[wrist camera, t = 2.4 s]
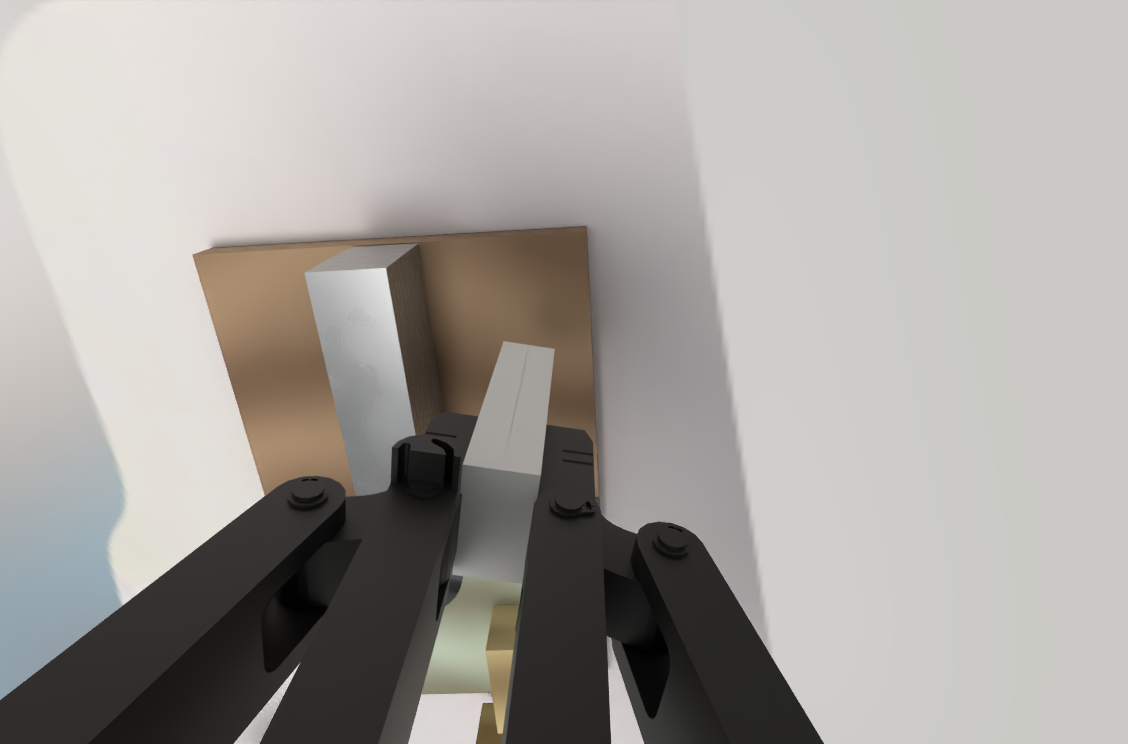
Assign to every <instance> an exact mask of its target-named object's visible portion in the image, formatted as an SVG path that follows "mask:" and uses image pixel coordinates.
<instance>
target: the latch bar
mask: <svg viewBox="0 0 1128 744" xmlns="http://www.w3.org/2000/svg"><path fill="white" fill-rule="evenodd" d="M304 274H305V278H306V282H307V287H308V291H309V295H310V300H311V304H312V308H313V313H314V317H315V321H316V325H317V330H318V334H319V338H320V343H321V347H322V351H323V356H324V360H325V364H326V369H327V373H328V377H329V382H330V386H331V390H332V395H333V399H334V403H335V407H336V412H337V416H338V420H339V425H340V429H341V433H342V438H343V442H344V446H345V451H346V455H347V459H348V464H349V468H350V472H351V476H352V481H353V485H354V489H355V494H356V496H363V495H371V494H377V493H380V492H384V491H387V489H388V487H389V485H390V483H391V456H392V447H393V446H394V445H395V444H396V443H397V442H398V441H399V440H402V439H404V438H406V437H409V436H415V435H421V434H422V435H424V434H425V433H426V430H427V428H428V426H429V424H430V422H431V420H432V419H434V418H435V417H437V416H438V415H440V414H441V413H443V412H444V408H443V401H442V395H441V388H440V382H439V375H438V369H437V362H436V356H435V349H434V343H433V336H432V330H431V323H430V317H429V310H428V304H427V298H426V291H425V285H424V278H423V272H422V265H421V259H420V252H419V246H418V243H416V244H398V245H381V246H364V247H349V248H348V249H346V250H344V251H342V252H340V253H339V254H337V255H335V256H333V257H331V258H330V259H328V260H326V261H324V262H322V263H321V264H319V265H317V266H315V267H313V268H312V269H310V270H308V271H306V272H304ZM452 572H453V566H452V569H451V573H450V580H449V591H448V597H447V600H446V604H445V606H447V605H448V604H449V603H450V602H452V600H453V599H454V598H455V597H456V595H457V594H458V592H459V590H460V588H461V584H462V580H463V576H458V575H452Z"/></svg>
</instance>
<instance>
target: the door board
mask: <svg viewBox="0 0 1128 744" xmlns="http://www.w3.org/2000/svg"><path fill="white" fill-rule="evenodd" d="M416 243H418V246H419V252H420V259H421V265H422V272H423V278H424V285H425V291H426V298H427V304H428V310H429V317H430V323H431V330H432V336H433V343H434V349H435V356H436V362H437V369H438V375H439V382H440V388H441V395H442V401H443V408H444V411H445V412H452V413H459V414H466V415H473V416H479V414H480V411H481V408H482V405H483V402H484V399H485V396H486V393H487V390H488V387H489V384H490V381H491V378H492V375H493V372H494V369H495V366H496V363H497V360H498V357H499V354H500V351H501V348H502V345H503V342H504V341H506V342H512V343H519V344H526V345H533V346H539V347H546V348H553V349H555V351H554V360H553V369H552V378H551V387H550V396H549V405H548V415H547V424H546V425H553V426H560V427H566V428H573V429H580V430H585V431H586V433H587V434H588V435H589V437H590V438H591V440H592V441H593V450H594V455H593V456H594V479H595V501H596V502H597V503H598V505H599V487H598V466H597V444H596V422H595V401H594V379H593V357H592V336H591V314H590V292H589V271H588V249H587V228H586V226H585V227H568V228H550V229H533V230H516V231H498V232H481V233H464V234H447V235H429V236H412V237H395V238H377V239H360V240H343V241H325V242H308V243H291V244H274V245H256V246H239V247H222V248H210V249H208V250H205V251H202V252H199V253H196V254H193V258H194V262H195V265H196V268H197V272H198V275H199V278H200V282H201V285H202V288H203V291H204V295H205V298H206V301H207V305H208V308H209V311H210V315H211V318H212V321H213V325H214V328H215V331H216V335H217V338H218V341H219V345H220V348H221V351H222V355H223V358H224V361H225V365H226V368H227V371H228V374H229V378H230V381H231V384H232V388H233V391H234V394H235V398H236V401H237V404H238V408H239V411H240V414H241V418H242V421H243V424H244V428H245V431H246V434H247V438H248V441H249V444H250V448H251V451H252V454H253V457H254V461H255V464H256V467H257V471H258V474H259V477H260V481H261V484H262V487H263V491H264V494H265V496H266V495H267V494H268V493H270V492H271V491H272V490H274V489H275V488H276V487H278V486H279V485H281V484H283V483H285V482H287V481H288V480H292V479H296V478H299V477H305V476H321V477H327V478H331V479H333V480H335V481H337V482H339V483H341V485H342V486H343V487H344V489H345V490H346V497H349V496H356V494H355V489H354V485H353V481H352V476H351V472H350V468H349V464H348V459H347V455H346V451H345V446H344V442H343V438H342V433H341V429H340V425H339V420H338V416H337V412H336V407H335V403H334V399H333V395H332V390H331V386H330V382H329V377H328V373H327V369H326V364H325V360H324V356H323V351H322V347H321V343H320V338H319V334H318V330H317V325H316V321H315V317H314V313H313V308H312V304H311V300H310V295H309V291H308V287H307V282H306V278H305V274H304V272H306V271H308V270H310V269H312V268H313V267H315V266H317V265H319V264H321V263H322V262H324V261H326V260H328V259H330V258H331V257H333V256H335V255H337V254H339V253H340V252H342V251H344V250H346V249H348V248H349V247H364V246H381V245H398V244H416ZM521 589H522V584H517V583H510V582H502V581H495V580H487V579H480V578H473V577H465V576H463V580H462V584H461V588H460V590H459V592H458V594H457V595H456V597H455V598H454V599H453V600H452V602H450V603H449V604H448V605H447V606H445V608H444V611H443V615H442V619H441V623H440V626H439V630H438V634H437V637H436V641H435V645H434V649H433V652H432V656H431V660H430V663H429V667H428V671H427V675H426V678H425V682H424V686H423V689H422V693H421V694H455V693H492V698H493V703H483V705H482V711H481V717H480V723H479V729H478V734H477V740H476V744H501V741H502V734H503V726H504V718H505V710H506V703H507V695H508V687H509V679H510V671H511V664H512V656H513V648H514V640H515V633H516V631H515V627H516V621H517V615H518V608H519V602H520V596H521Z"/></svg>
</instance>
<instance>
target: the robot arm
mask: <svg viewBox="0 0 1128 744" xmlns="http://www.w3.org/2000/svg"><path fill="white" fill-rule="evenodd" d="M554 351H555V349H553V348H546V347H539V346H533V345H526V344H519V343H512V342H506V341H504V342H503V345H502V348H501V351H500V354H499V357H498V360H497V363H496V366H495V369H494V372H493V375H492V378H491V381H490V384H489V387H488V390H487V393H486V396H485V399H484V402H483V405H482V408H481V411H480V414H479V416H473V415H466V414H459V413H452V412H445V411H444V412H443V413H441V414H440V415H438V416H437V417H435V418H434V419H432V420H431V422H430V424H429V426H428V428H427V430H426V433H425V434H424V435H422V434H421V435H415V436H409V437H406V438H404V439H402V440H399V441H398V442H397V443H396V444H395V445H394V446H393V447H392V456H391V483H390V485H389V487H388V489H387V491H384V492H380V493H377V494H371V495H363V496H349V497H346V490H345V489H344V487H343V486H342V485H341V483H339V482H337V481H335V480H333V479H331V478H327V477H321V476H305V477H299V478H296V479H292V480H288V481H287V482H285V483H283V484H281V485H279V486H278V487H276V488H275V489H274V490H272V491H271V492H270V493H268V494H267V495H266V496H264V497H263V498H262V499H261V500H259V501H258V502H257V503H255V504H254V505H253V506H252V507H250V508H249V509H248V510H246V511H245V512H244V513H242V514H241V515H240V516H239V517H237V518H236V519H235V520H233V521H232V522H231V523H229V524H228V525H227V526H226V527H224V528H223V529H222V530H220V531H219V532H218V533H217V534H215V535H214V536H213V537H211V538H210V539H209V540H207V541H206V542H205V543H204V544H202V545H201V546H200V547H198V548H197V549H196V550H194V551H193V552H192V553H191V554H189V555H188V556H187V557H185V558H184V559H183V560H181V561H180V562H179V563H178V564H176V565H175V566H174V567H172V568H171V569H170V570H169V571H167V572H166V573H165V574H163V575H162V576H161V577H159V578H158V579H157V580H156V581H154V582H153V583H152V584H150V585H149V586H148V587H146V588H145V589H144V590H143V591H141V592H140V593H139V594H137V595H136V596H135V597H133V598H132V599H131V600H130V601H128V602H127V603H126V604H124V605H123V606H122V607H121V608H119V609H118V610H117V611H115V612H114V613H113V614H111V615H110V616H109V617H108V618H106V619H105V620H104V621H102V622H101V623H100V624H99V625H97V626H96V627H95V628H93V629H92V630H91V631H89V632H88V633H87V634H86V635H84V636H83V637H82V638H80V639H79V640H78V641H77V642H75V643H74V644H73V645H71V646H70V647H69V648H67V649H66V650H65V651H64V652H62V653H61V654H60V655H58V656H57V657H56V658H55V659H53V660H52V661H50V662H49V663H48V664H47V665H45V666H44V667H43V668H41V669H40V670H39V671H38V672H36V673H35V674H34V675H32V676H31V677H30V678H28V679H27V680H26V681H25V682H23V683H22V684H21V685H20V686H18V687H17V688H16V689H14V690H13V691H12V692H10V693H9V694H8V695H7V696H5V697H4V698H3V699H1V700H0V744H234V742H235V741H236V740H237V739H238V737H239V736H240V735H241V734H242V733H243V731H244V730H245V729H246V728H247V727H248V725H249V724H250V723H251V722H252V720H253V719H254V718H255V717H256V716H257V714H258V713H259V712H260V711H261V710H262V708H263V707H264V706H265V705H266V703H267V702H268V701H269V700H270V699H271V697H272V696H273V695H274V694H275V693H276V691H277V690H278V689H279V688H280V686H281V685H282V684H283V683H284V682H285V680H286V679H287V678H288V677H289V676H290V674H291V673H292V672H293V671H294V669H295V668H296V667H297V666H298V665H299V663H300V662H301V663H300V665H299V667H298V669H297V671H296V673H295V675H294V677H293V678H292V680H291V682H290V684H289V686H288V688H287V690H286V692H285V694H284V696H283V698H282V700H281V702H280V704H279V706H278V708H277V710H276V712H275V714H274V716H273V718H272V720H271V722H270V724H269V726H268V728H267V730H266V732H265V734H264V736H263V738H262V740H261V742H260V744H408V741H409V738H410V734H411V730H412V726H413V723H414V719H415V715H416V712H417V708H418V704H419V700H420V697H421V693H422V689H423V686H424V682H425V678H426V675H427V671H428V667H429V663H430V660H431V656H432V652H433V649H434V645H435V641H436V637H437V634H438V630H439V626H440V623H441V619H442V615H443V611H444V608H445V604H446V600H447V597H448V591H449V580H450V573H451V569H452V566H453V572H452V575H458V576H465V577H473V578H480V579H487V580H495V581H502V582H510V583H517V584H522V589H521V596H520V602H519V608H518V615H517V621H516V627H515V631H516V633H515V640H514V648H513V656H512V664H511V671H510V679H509V687H508V695H507V703H506V710H505V718H504V726H503V734H502V741H501V744H611V731H610V708H609V685H608V662H607V639H606V636H608V637H611V639H612V648H613V651H614V654H615V657H616V660H617V663H618V666H619V669H620V672H621V675H622V678H623V681H624V684H625V687H626V690H627V693H628V696H629V699H630V702H631V705H632V708H633V711H634V714H635V717H636V720H637V723H638V726H639V729H640V732H641V735H642V738H643V741H644V744H824V743H823V741H822V740H821V738H820V736H819V735H818V733H817V731H816V730H815V728H814V726H813V725H812V723H811V721H810V720H809V718H808V716H807V715H806V713H805V711H804V710H803V708H802V707H801V705H800V703H799V702H798V700H797V698H796V697H795V695H794V693H793V692H792V690H791V688H790V687H789V685H788V683H787V682H786V680H785V678H784V677H783V675H782V673H781V672H780V670H779V668H778V667H777V665H776V664H775V662H774V660H773V659H772V657H771V655H770V654H769V652H768V650H767V649H766V647H765V645H764V644H763V642H762V640H761V639H760V637H759V635H758V634H757V632H756V630H755V629H754V627H753V626H752V624H751V622H750V621H749V619H748V617H747V616H746V614H745V612H744V611H743V609H742V607H741V606H740V604H739V602H738V601H737V599H736V597H735V596H734V594H733V592H732V591H731V589H730V588H729V586H728V584H727V583H726V581H725V579H724V578H723V576H722V574H721V573H720V571H719V569H718V568H717V566H716V564H715V563H714V561H713V559H712V558H711V556H710V554H709V553H708V551H707V550H706V548H705V546H704V545H703V543H702V542H701V541H700V540H699V539H698V537H697V536H696V535H695V534H693V533H692V532H690V531H689V530H687V529H685V528H684V527H681V526H678V525H675V524H672V523H665V522H654V523H648V524H646V525H645V526H643V527H642V528H640V529H639V531H638V534H635V533H632V532H630V531H627V530H624V529H622V528H620V527H618V526H615V525H614V524H612V523H611V522H609V521H608V520H606V519H605V518H604V517H603V516H602V515H601V511H600V508H599V505H598V503H597V502H596V501H595V479H594V456H593V455H594V450H593V441H592V440H591V438H590V437H589V435H588V434H587V433H586V431H585V430H580V429H573V428H566V427H560V426H553V425H546V424H547V415H548V405H549V396H550V387H551V378H552V369H553V360H554Z"/></svg>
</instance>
